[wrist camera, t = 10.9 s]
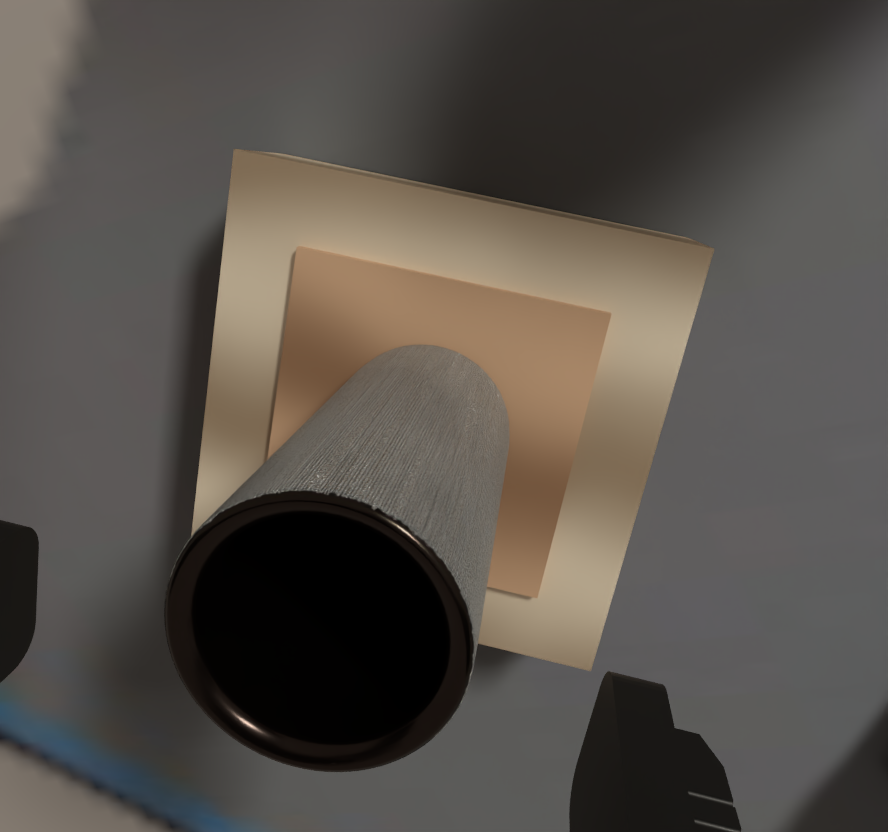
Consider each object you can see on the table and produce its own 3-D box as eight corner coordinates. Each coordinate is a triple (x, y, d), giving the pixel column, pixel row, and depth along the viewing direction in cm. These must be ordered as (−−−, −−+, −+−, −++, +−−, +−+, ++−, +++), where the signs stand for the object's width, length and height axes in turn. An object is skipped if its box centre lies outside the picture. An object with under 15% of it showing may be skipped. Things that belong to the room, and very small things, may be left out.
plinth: (284, 153, 24) (229, 148, 20) (687, 237, 23) (716, 249, 19) (237, 518, 27) (182, 577, 23) (585, 600, 27) (591, 677, 23)
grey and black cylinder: (369, 524, 22) (224, 797, 12) (316, 367, 21) (112, 530, 11) (530, 487, 21) (512, 751, 11) (484, 321, 20) (419, 456, 10)
